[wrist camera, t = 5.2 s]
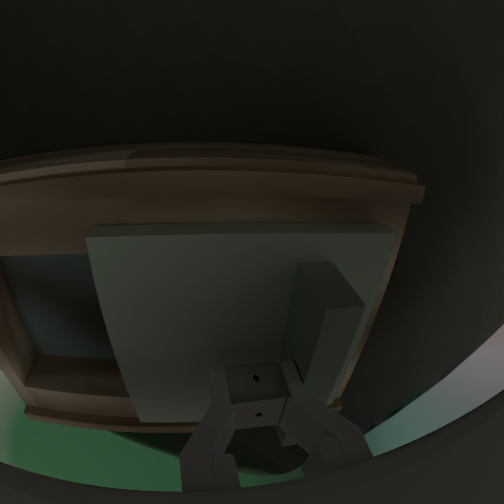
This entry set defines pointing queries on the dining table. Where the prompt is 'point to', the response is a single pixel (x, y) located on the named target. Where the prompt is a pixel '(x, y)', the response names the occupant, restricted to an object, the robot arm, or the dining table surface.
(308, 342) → the cover
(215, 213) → the wooden box
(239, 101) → the dining table surface
